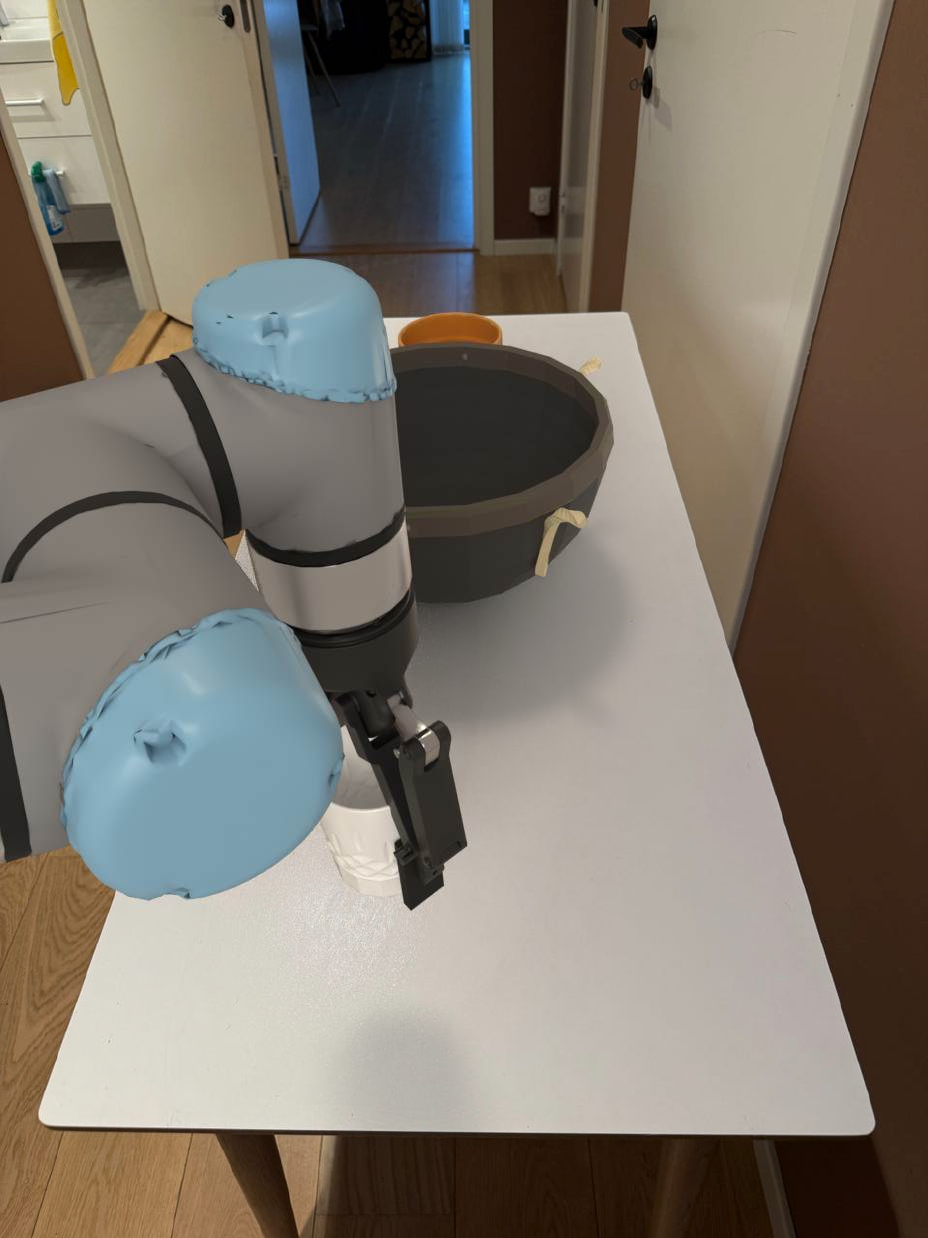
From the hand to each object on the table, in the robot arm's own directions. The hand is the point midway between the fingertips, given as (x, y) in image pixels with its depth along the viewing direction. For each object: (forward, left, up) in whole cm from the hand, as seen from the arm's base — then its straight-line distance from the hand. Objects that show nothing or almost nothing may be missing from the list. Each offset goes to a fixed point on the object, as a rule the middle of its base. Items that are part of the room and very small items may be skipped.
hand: (385, 853), depth 61 cm
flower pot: (+56, +62, -15) cm, 85 cm away
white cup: (0, 0, 0) cm, 0 cm away
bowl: (+34, +35, -15) cm, 51 cm away
